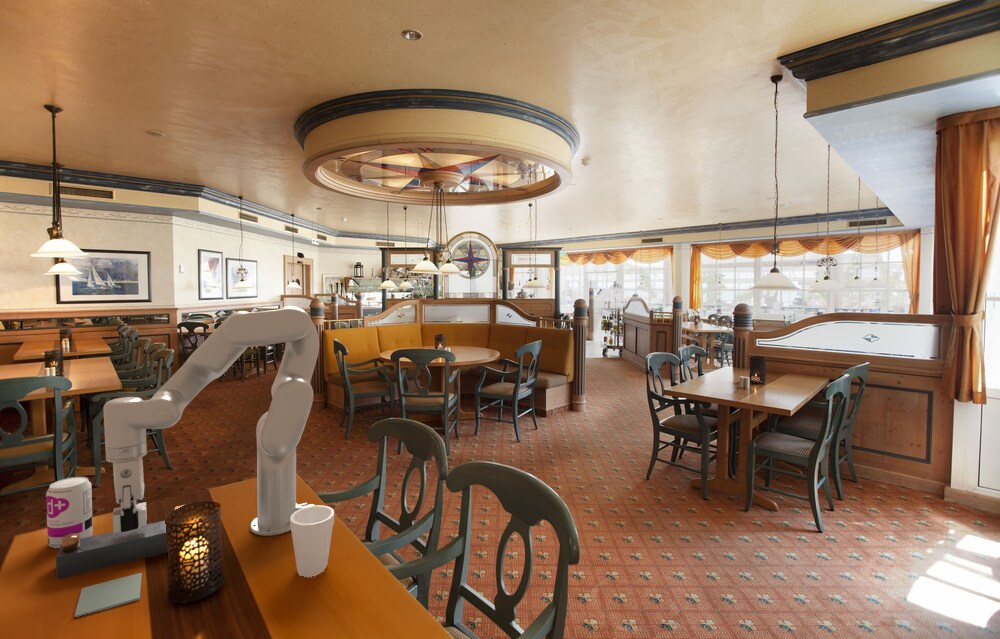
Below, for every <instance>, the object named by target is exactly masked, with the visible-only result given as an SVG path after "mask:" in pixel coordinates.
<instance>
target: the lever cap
mask: <svg viewBox="0 0 1000 639" xmlns="http://www.w3.org/2000/svg"><path fill="white" fill-rule="evenodd" d="M138 503H139V502H138ZM132 506H133V505H132ZM137 511H138V527H143V526H146V525H147V524H148V523H147V521H148V516H147V513H148V512H147V502H146V501H145V502H140V503H139V504H136V512H137ZM120 515H121V506H119V507H114V508H113V511H112V526H113V527H112V528H113V531H112V532H114V533H117V532H121V524H120Z"/></svg>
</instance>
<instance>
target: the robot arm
mask: <svg viewBox="0 0 1000 639" xmlns="http://www.w3.org/2000/svg"><path fill="white" fill-rule="evenodd" d="M282 343H285V349H284V351H283V355H282V359H281V363H280V365H279V368H278V371H277V373H276V376H275V378H274V381H273V383H272V384H271V385H272V386H271V391H270V392H271V397H272V400H271V402H270V406H269V408H268V411H266V412H265V413H264V414H262V415H261V416H260V418H259V419H258V421H257V424H256V430H255V431H256V435H255V436H256V457H257V458H256V461H257V462H256V473H257V474H256V479H257V480H256V483H257V484H256V489H257V490H256V491H257V492H256V494H257V496H256V500H257V501H256V504H257V505H256V506H257V507H256V509H257V511H256V512H257V514H256V515H257V516H256V517H255V518H254V519H253V520H252V521H251V523H250V531H251V532H252V533H253V534H255V535H259V536H267V537H269V536H278V535H282V534H284V533H285V532H286V533H288V532H291V531H290V519H291V515H292V514H293V513H294V512H295V511H297V510H300V509H302V508H305V507H309V506H315V504H313V503H311V504H308V502H303V503H299V504H298V503H297V446H298V444H299V443H300V441H301V438H302V435H303V432H304V430H305V427H306V423H307V421H308V418H309V415H310V412H311V408H312V406H313V401H314V389H313V386H312V385H311V380H312V377H313V374H314V371H315V367H316V363H317V359H318V357H319V356H318V355H319V352H320V339H319V334H318V331H317V328H316V326H315V324H314V322H313V321H312V318H311V315H309V313H308V312H307V311H306V310H305V309H303V308H301V307H299V306H296V305H283V306H282V307H281V308H279V309H271V310H270V309H269V310H264V311H263V310H262V311H253V312H251V311H246V310H238V311H235V312H233V313H231V314H230V315H228V316H227V318H225V319H224V320H223V321H222V322H221V324H220V325H218V327H217V328H216V329H214V331H213V332H212V333H210V335H209V336H208V337H207V338H206V339H205V340H204V341H203V342H202V343H201V344H200V345H199V346H198V347H197V348H196V349H195V351H193V352H192V353H191V355H190V356H188V358H187V360H186V361H185V362H184V363H183V364H182V365H181V367H180V368H179V369H178V370H176V372H175V373H174V374H173V375H171V377H169V379H168V380H167V381H166V382H165V383H164V384H163V385H162V386H161V387H159V389H158V390H157V391H156V392H155V393H154V394H153V396H151V398H150V399H146V400H143V399H142V398H141V397H137V396H136V397H135V396H126V397H118V398H114V399H111V400H108V401H107V402H106V403H105V404H104V405H103V425H104V427H103V428H104V442H105V444H104V446H105V460H106V462H108V463H112V468H113V470H112V471H113V484H114V494H115V503H116V504H117V505H120V507H121V515H120V524H121V532H126V531H130V530H134V529H137V528H138V511H137V512H136V504H139V501H142V500H143V499H144V495H145V494H144V493H145V480H144V461H143V457H145V456H146V455H148V451H147V450H148V447H147V430H149V429H151V430H152V429H153V430H161V429H167V428H168V429H169V428H170V427H173V426H174V425H176V424H177V423H178V422H179V421H180V420H181V418H182V416H183V413H184V410H185V408H186V407H187V406H188V405H189V404H190V403H191V402H192V401H193V399H194V398H195V397H196V396H197V395H198V394H199V393H200V392H201V391H202V390H203V389H204V388H205V387H207V386H208V385H209V384H210V383H211V382H212V381H214V380H216V379H218V378H220V377H221V376H223V374H225V373H226V372H227V371H228V370H229V369H230V367H231V366H232V365H233V364H234V363H235V362H236V361H237V360H238V359H239V358H240V357H241V355H242V354H243V353H244V352H246V350H247V349H248V348H250V347H252V348H253V347H259V346H260V347H262V346H268V345H276V344H282ZM132 505H133V506H132ZM286 533H285V534H286Z"/></svg>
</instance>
